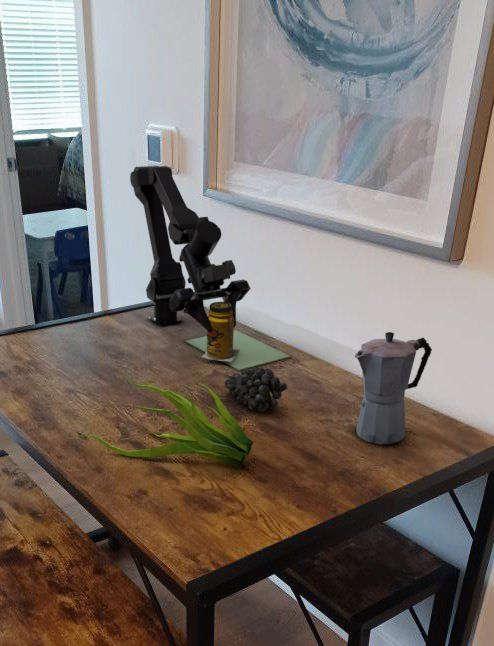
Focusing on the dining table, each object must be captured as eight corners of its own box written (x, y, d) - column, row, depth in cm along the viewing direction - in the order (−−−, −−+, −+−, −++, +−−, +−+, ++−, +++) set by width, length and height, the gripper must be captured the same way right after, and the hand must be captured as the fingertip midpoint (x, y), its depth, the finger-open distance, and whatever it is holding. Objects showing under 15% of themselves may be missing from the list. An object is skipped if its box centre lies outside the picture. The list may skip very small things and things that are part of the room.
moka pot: (332, 430, 133) (344, 328, 123) (398, 416, 139) (415, 317, 129) (361, 452, 126) (376, 346, 116) (430, 437, 131) (451, 334, 121)
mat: (185, 341, 174) (185, 340, 174) (234, 330, 181) (234, 329, 181) (239, 370, 158) (239, 369, 158) (290, 357, 165) (290, 356, 165)
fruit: (219, 352, 143) (269, 373, 132) (248, 356, 148) (298, 377, 138) (208, 392, 145) (256, 417, 135) (238, 395, 151) (286, 419, 140)
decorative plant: (135, 414, 139) (132, 343, 131) (258, 463, 122) (263, 384, 115) (65, 448, 127) (58, 371, 119) (192, 506, 110) (192, 422, 103)
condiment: (200, 358, 161) (201, 307, 155) (212, 345, 168) (213, 296, 162) (230, 362, 159) (233, 311, 153) (241, 349, 166) (244, 300, 160)
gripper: (174, 253, 150) (199, 318, 148) (248, 243, 158) (272, 305, 156) (158, 280, 160) (181, 342, 158) (228, 270, 168) (251, 328, 166)
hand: (222, 328), depth 159 cm, fingers closed on condiment, 6 cm apart
